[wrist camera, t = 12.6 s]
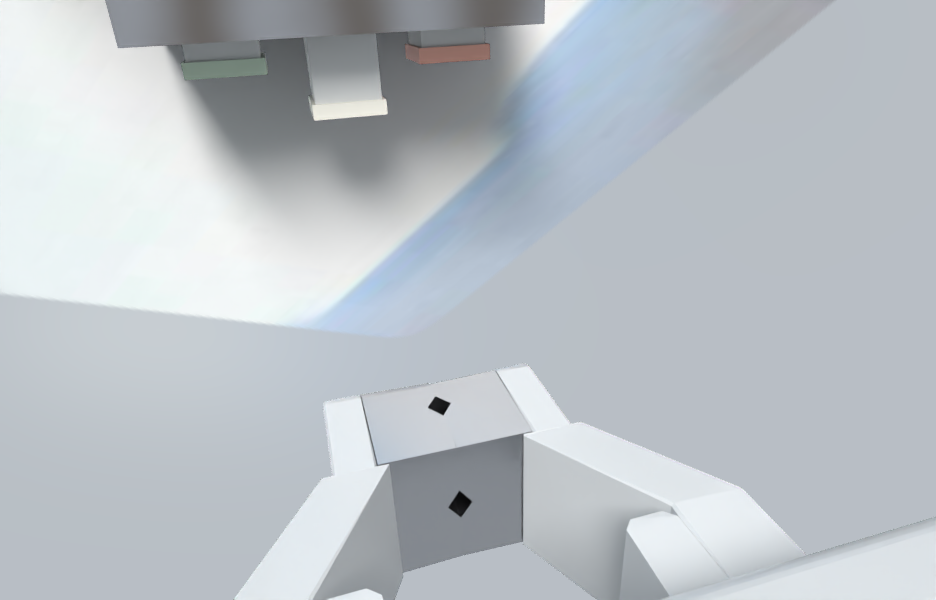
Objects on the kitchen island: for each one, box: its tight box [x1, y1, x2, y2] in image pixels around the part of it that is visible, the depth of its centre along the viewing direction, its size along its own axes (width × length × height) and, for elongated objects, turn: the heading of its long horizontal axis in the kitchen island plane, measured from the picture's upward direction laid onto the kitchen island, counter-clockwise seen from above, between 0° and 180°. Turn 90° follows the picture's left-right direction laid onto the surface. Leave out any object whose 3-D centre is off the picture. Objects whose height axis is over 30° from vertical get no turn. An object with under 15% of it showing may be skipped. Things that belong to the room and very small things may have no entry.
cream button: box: [303, 33, 388, 121], centre depth 35 cm, size 4×5×4 cm
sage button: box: [181, 40, 268, 80], centre depth 32 cm, size 4×5×4 cm
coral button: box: [405, 27, 490, 64], centre depth 35 cm, size 4×5×4 cm
